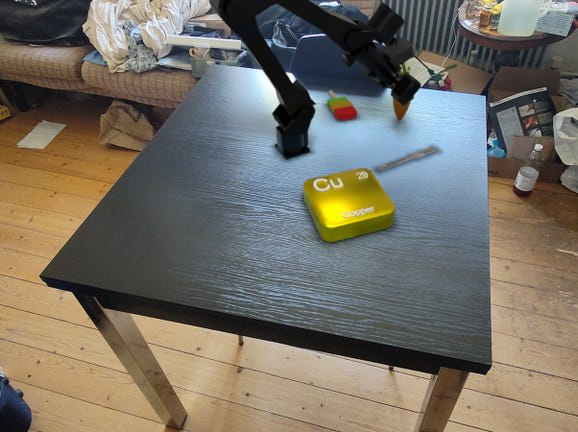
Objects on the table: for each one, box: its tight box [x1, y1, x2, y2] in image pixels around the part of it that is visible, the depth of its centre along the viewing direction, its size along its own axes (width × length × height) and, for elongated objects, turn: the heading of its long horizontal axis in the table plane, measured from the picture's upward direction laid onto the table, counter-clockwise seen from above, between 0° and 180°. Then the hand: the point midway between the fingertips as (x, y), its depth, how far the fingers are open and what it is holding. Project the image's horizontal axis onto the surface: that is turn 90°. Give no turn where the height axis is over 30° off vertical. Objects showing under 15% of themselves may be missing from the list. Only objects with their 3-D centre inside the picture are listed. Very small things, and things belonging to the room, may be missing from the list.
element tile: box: [302, 167, 396, 243], centre depth 88 cm, size 15×15×5 cm
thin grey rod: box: [376, 146, 439, 173], centre depth 102 cm, size 17×2×1 cm, turn 120°
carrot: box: [392, 62, 412, 121], centre depth 110 cm, size 5×5×15 cm
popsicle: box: [326, 90, 358, 122], centre depth 119 cm, size 6×15×2 cm, turn 19°
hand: (407, 94), depth 111 cm, fingers closed on carrot, 5 cm apart
